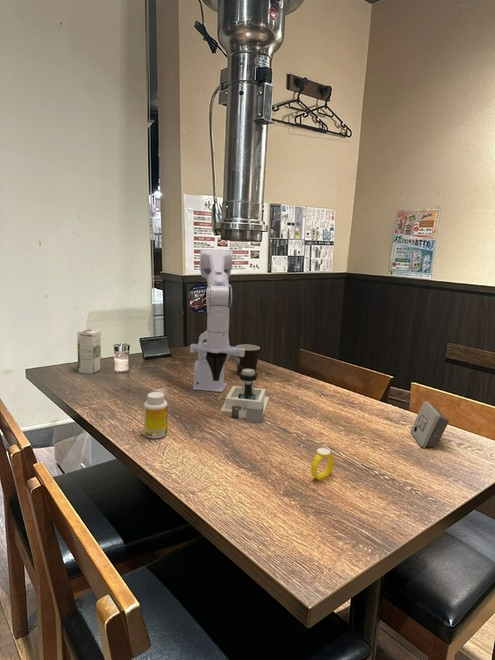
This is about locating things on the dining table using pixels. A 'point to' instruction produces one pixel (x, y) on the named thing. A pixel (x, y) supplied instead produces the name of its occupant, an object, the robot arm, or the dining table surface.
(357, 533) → the dining table surface
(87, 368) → the syrup box
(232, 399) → the dock
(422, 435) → the electrical switch
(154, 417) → the supplement bottle
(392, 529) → the dining table surface
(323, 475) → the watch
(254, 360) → the coffee mug
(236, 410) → the pin
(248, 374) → the push button
